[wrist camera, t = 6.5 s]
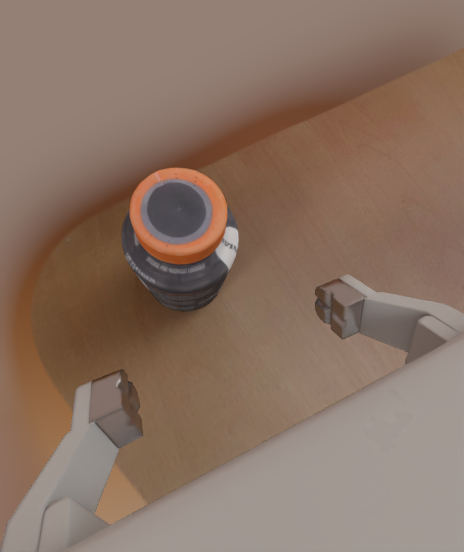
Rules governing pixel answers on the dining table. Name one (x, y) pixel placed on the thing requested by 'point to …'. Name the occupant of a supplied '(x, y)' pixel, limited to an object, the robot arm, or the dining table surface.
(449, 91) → the dining table surface
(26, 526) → the robot arm
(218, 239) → the pill bottle
